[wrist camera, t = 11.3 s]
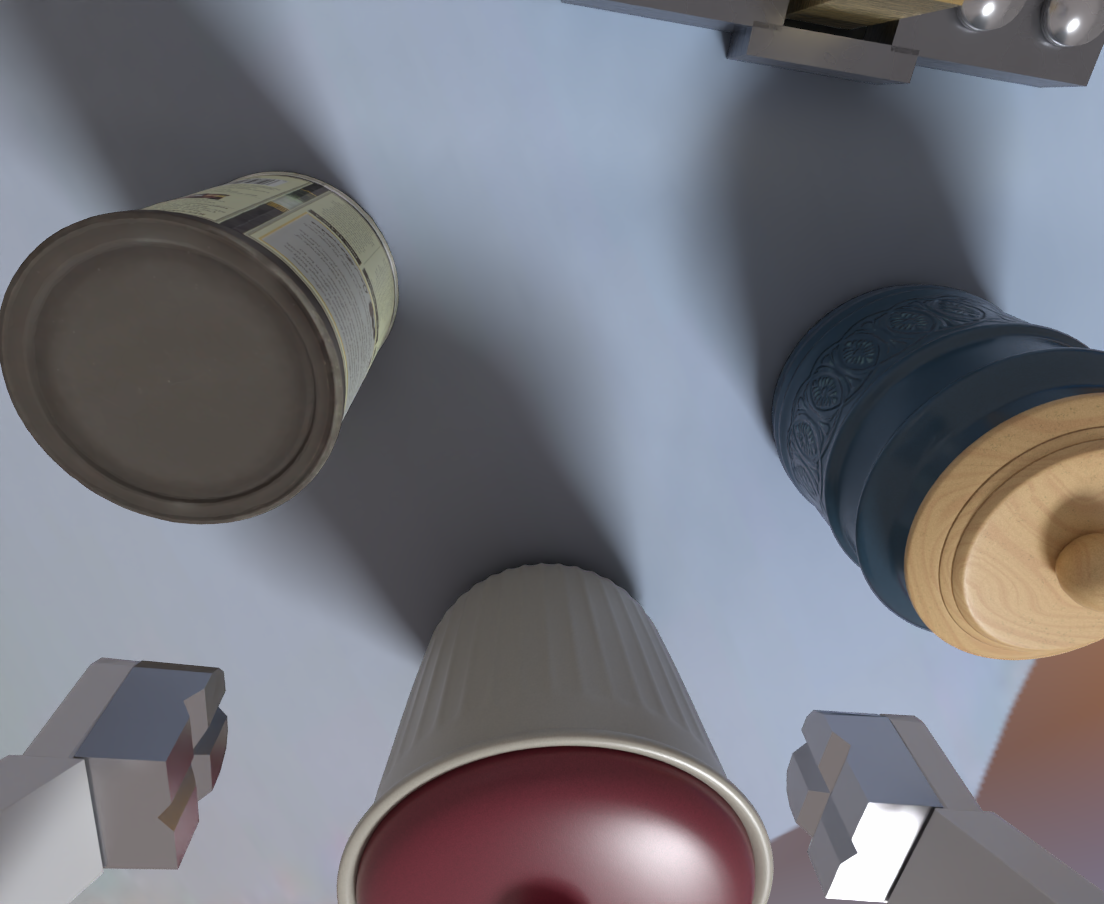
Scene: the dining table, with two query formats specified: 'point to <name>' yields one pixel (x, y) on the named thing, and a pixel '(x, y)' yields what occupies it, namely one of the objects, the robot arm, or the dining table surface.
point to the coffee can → (200, 344)
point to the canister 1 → (553, 764)
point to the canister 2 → (955, 465)
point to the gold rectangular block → (861, 11)
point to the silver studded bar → (906, 39)
